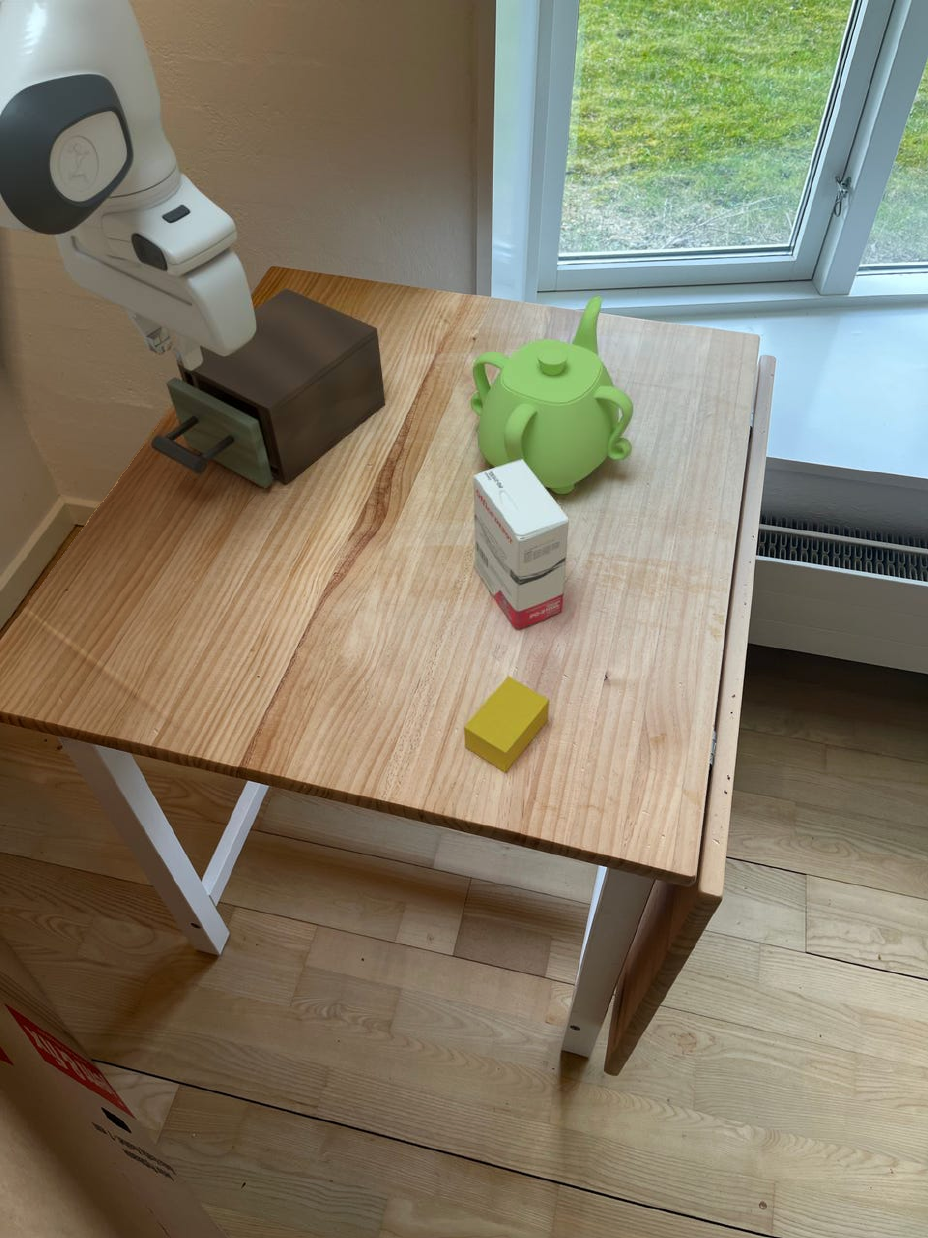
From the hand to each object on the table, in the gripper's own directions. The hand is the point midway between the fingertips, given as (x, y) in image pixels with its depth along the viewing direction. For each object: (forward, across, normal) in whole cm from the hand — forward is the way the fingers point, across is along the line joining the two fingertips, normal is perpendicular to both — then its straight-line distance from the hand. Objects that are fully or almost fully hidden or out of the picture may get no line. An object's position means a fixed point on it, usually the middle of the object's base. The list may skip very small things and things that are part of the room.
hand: (175, 356), depth 84 cm
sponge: (+15, +41, -7) cm, 44 cm away
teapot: (+15, +25, +24) cm, 38 cm away
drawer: (+14, 0, +6) cm, 16 cm away
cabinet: (+15, 0, +12) cm, 19 cm away
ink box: (+15, +33, +6) cm, 37 cm away
